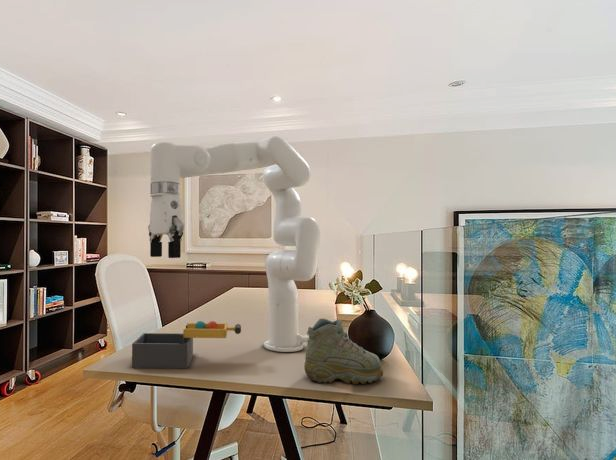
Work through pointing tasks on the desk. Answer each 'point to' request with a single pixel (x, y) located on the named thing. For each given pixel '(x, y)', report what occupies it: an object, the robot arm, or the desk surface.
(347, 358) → the sneaker
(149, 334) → the bin
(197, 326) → the teal ball
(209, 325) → the terracotta ball
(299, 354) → the desk surface
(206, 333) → the tipping tray
